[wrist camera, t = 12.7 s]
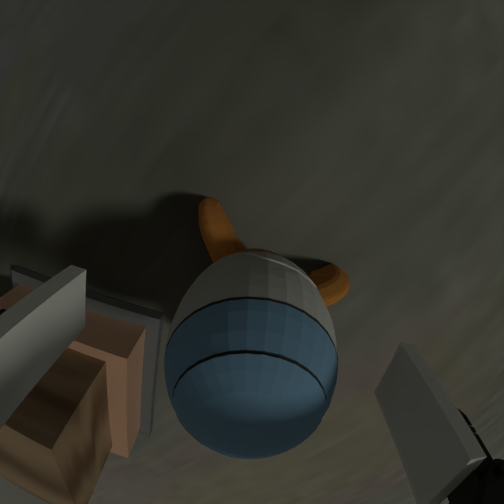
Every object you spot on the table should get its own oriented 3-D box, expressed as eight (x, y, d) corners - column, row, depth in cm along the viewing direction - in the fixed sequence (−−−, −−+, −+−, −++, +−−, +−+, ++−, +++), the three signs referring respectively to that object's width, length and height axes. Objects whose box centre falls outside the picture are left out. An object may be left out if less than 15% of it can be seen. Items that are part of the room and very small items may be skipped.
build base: (18, 265, 22) (-19, 288, 17) (163, 313, 23) (142, 351, 18) (34, 383, 26) (11, 411, 22) (152, 429, 27) (139, 467, 22)
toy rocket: (235, 346, 25) (141, 493, 11) (170, 225, 24) (1, 284, 10) (360, 298, 22) (384, 468, 7) (293, 157, 21) (211, 113, 6)
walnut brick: (5, 320, 18) (-60, 378, 11) (105, 361, 19) (51, 449, 11) (26, 408, 21) (-14, 466, 14) (112, 446, 22) (82, 518, 14)
